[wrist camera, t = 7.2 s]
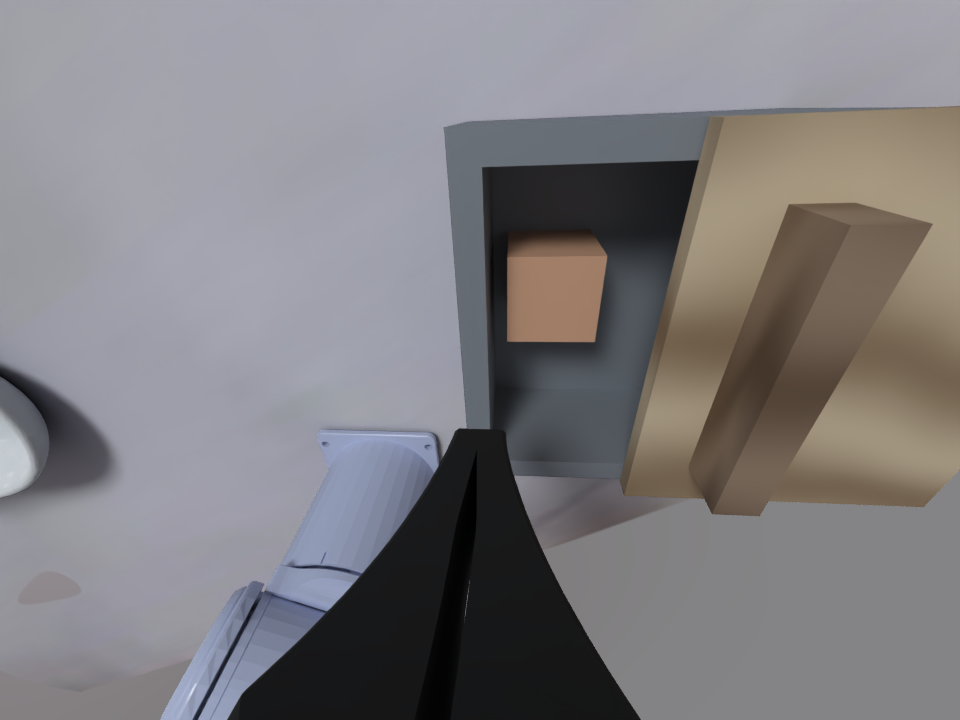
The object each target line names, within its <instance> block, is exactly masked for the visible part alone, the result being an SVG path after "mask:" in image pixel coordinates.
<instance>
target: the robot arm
mask: <svg viewBox="0 0 960 720" xmlns="http://www.w3.org/2000/svg"><path fill="white" fill-rule="evenodd" d="M317 440H318V443H319V445H320V448H321V451H322V453H323V456H324V459H325V461H326V464H327V467H328V469H329V471H328V473H327V475H326V477H325V479H324V481H323V483H322V485H321V486H320V488H319V490H318V492H317V494H316V496H315V498H314V500H313V502H312V504H311V506H310V508H309V510H308V512H307V514H306V516H305V518H304V520H303V522H302V523H301V525H300V527H299V529H298V531H297V533H296V535H295V537H294V539H293V541H292V543H291V545H290V547H289V549H288V551H287V553H286V555H285V557H284V558H283V560H282V562H281V564H280V565H278V566H277V568H276V570H275V572H274V574H273V576H272V578H271V580H270V582H269V584H268V586H267V588H266V590H265V591H264V592H262V591H261V590H262V588H263V586H264V583H260V582H257V581H252V582H251V583H250V584H249V585H248V586H245V587H243V588H241V589H239V590H237V591H235V592H234V593H233V594H232V596H231V597H230V599H229V600H228V602H227V603H226V605H225V606H224V608H223V609H222V611H221V613H220V614H219V616H218V618H217V619H216V621H215V622H214V624H213V626H212V627H211V629H210V631H209V633H208V634H207V636H206V638H205V639H204V641H203V643H202V644H201V646H200V648H199V650H198V651H197V653H196V655H195V657H194V658H193V660H192V662H191V664H190V666H189V667H188V669H187V671H186V673H185V674H184V676H183V678H182V680H181V681H180V683H179V685H178V687H177V689H176V690H175V692H174V694H173V696H172V698H171V700H170V701H169V703H168V706H167V707H166V709H165V711H164V713H163V715H162V716H161V719H160V720H641V719H640V718H639V716H638V715H637V713H636V712H635V710H634V709H633V707H632V706H631V704H630V703H629V701H628V700H627V698H626V697H625V695H624V694H623V692H622V690H621V689H620V687H619V686H618V684H617V683H616V681H615V680H614V678H613V677H612V675H611V673H610V672H609V670H608V669H607V667H606V665H605V664H604V662H603V660H602V659H601V657H600V655H599V654H598V652H597V650H596V649H595V647H594V646H593V644H592V642H591V641H590V639H589V637H588V636H587V634H586V632H585V630H584V629H583V627H582V625H581V623H580V621H579V620H578V618H577V616H576V614H575V612H574V611H573V609H572V607H571V605H570V604H569V602H568V600H567V598H566V597H565V595H564V593H563V591H562V589H561V587H560V585H559V583H558V581H557V579H556V577H555V575H554V573H553V572H552V569H551V568H550V565H549V563H548V561H547V559H546V557H545V555H544V553H543V551H542V548H541V546H540V544H539V542H538V539H537V537H536V535H535V532H534V530H533V528H532V525H531V523H530V520H529V518H528V515H527V513H526V510H525V507H524V505H523V502H522V499H521V496H520V493H519V490H518V487H517V484H516V481H515V478H514V474H513V471H512V467H511V463H510V459H509V454H508V449H507V441H506V432H504V431H503V430H497V429H460V428H459V429H458V430H456V431H455V433H454V436H453V438H452V440H451V443H450V445H449V447H448V449H447V451H446V453H445V455H444V457H443V459H442V460H441V462H440V463H439V456H438V449H437V442H436V437H435V435H433V434H432V433H427V432H389V431H350V430H321V431H319V433H318V435H317ZM327 442H328V443H327ZM428 445H431V446H428ZM469 582H470V584H469ZM468 588H469V592H468ZM467 594H468V601H467ZM466 602H467V608H466ZM465 610H466V616H465ZM464 620H465V622H464Z"/></svg>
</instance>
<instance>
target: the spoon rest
mask: <svg viewBox="0 0 960 720" xmlns="http://www.w3.org/2000/svg"><path fill="white" fill-rule="evenodd" d="M48 453H49V434H48V430H47V427H46V424H45V421H44V419H43V417H42V415H41V414H40V412H39V411H38V409H37V408H36V407H35V405H34V404H33V403H32V402H31V401H30V400H29V399H28V397H27V396H26V395H25V394H23V393H22V392H21V391H20V390H19V389H17V388H16V387H15V386H13V385H12V384H11V383H9V382H8V381H6V380H5V379H4V378H2V377H0V498H2V497H5V496H9V495H12V494H15V493H17V492H20V491H23V490H25V489H26V488H28V487H29V486H31V485H32V484H33V483H34V482H35V481H36V480H37V479H38V478H39V476H40V475H41V473H42V471H43V469H44V467H45V464H46V461H47V458H48Z"/></svg>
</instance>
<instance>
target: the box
mask: <svg viewBox="0 0 960 720" xmlns="http://www.w3.org/2000/svg"><path fill="white" fill-rule="evenodd" d="M907 108H926V107H907ZM879 109H903V108H778V109H754V110H731V111H707V112H684V113H660V114H637V115H613V116H590V117H566V118H543V119H519V120H496V121H472V122H464V123H460V124H456V125H452V126H448V127H444V134H445V147H446V160H447V173H448V186H449V199H450V212H451V226H452V239H453V252H454V265H455V278H456V291H457V304H458V318H459V331H460V344H461V357H462V370H463V383H464V397H465V410H466V423H467V429H497V430H503V431H504V432H506V441H507V449H508V454H509V459H510V463H511V467H512V471H513V474H514V475H519V476H548V477H577V478H605V479H621V475H622V471H623V467H624V463H625V459H626V455H627V451H628V447H629V443H630V438H631V434H632V430H633V426H634V422H635V418H636V414H637V410H638V406H639V402H640V398H641V394H642V390H643V386H644V382H645V378H646V374H647V370H648V366H649V362H650V357H651V353H652V349H653V345H654V341H655V337H656V333H657V329H658V325H659V321H660V317H661V313H662V309H663V305H664V301H665V297H666V293H667V289H668V285H669V281H670V277H671V272H672V268H673V264H674V260H675V256H676V252H677V248H678V244H679V240H680V236H681V232H682V228H683V224H684V220H685V216H686V212H687V208H688V204H689V200H690V196H691V192H692V187H693V183H694V179H695V175H696V171H697V167H698V163H699V159H700V155H701V151H702V147H703V143H704V139H705V135H706V131H707V127H708V123H709V119H710V116H734V115H758V114H782V113H806V112H830V111H855V110H879Z"/></svg>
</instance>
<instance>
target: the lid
mask: <svg viewBox="0 0 960 720" xmlns="http://www.w3.org/2000/svg"><path fill="white" fill-rule="evenodd" d="M959 469H960V106H951V107H927V108H903V109H879V110H855V111H830V112H806V113H782V114H758V115H734V116H710V119H709V123H708V127H707V131H706V135H705V139H704V143H703V147H702V151H701V155H700V159H699V163H698V167H697V171H696V175H695V179H694V183H693V187H692V192H691V196H690V200H689V204H688V208H687V212H686V216H685V220H684V224H683V228H682V232H681V236H680V240H679V244H678V248H677V252H676V256H675V260H674V264H673V268H672V272H671V277H670V281H669V285H668V289H667V293H666V297H665V301H664V305H663V309H662V313H661V317H660V321H659V325H658V329H657V333H656V337H655V341H654V345H653V349H652V353H651V357H650V362H649V366H648V370H647V374H646V378H645V382H644V386H643V390H642V394H641V398H640V402H639V406H638V410H637V414H636V418H635V422H634V426H633V430H632V434H631V438H630V443H629V447H628V451H627V455H626V459H625V463H624V467H623V471H622V475H621V479H620V482H621V486H622V489H623V493H624V496H648V497H675V498H701V499H705V501H706V503H707V505H708V507H709V509H710V511H711V513H712V514H722V515H747V516H760V514H761V513H762V511H763V509H764V508H765V506H766V504H767V503H768V501H780V502H805V503H832V504H833V503H834V504H858V505H885V506H912V507H924V506H925V505H926V504H927V503H928V502H929V501H930V500H931V499H932V497H934V495H935V494H936V493H937V492H938V491H939V490H940V489H941V488H942V487H943V486H944V485H945V484H946V483H947V482H948V481H949V480H950V479H951V478H952V477H953V476H954V475H955V474H956V473H957V471H958V470H959Z"/></svg>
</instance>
